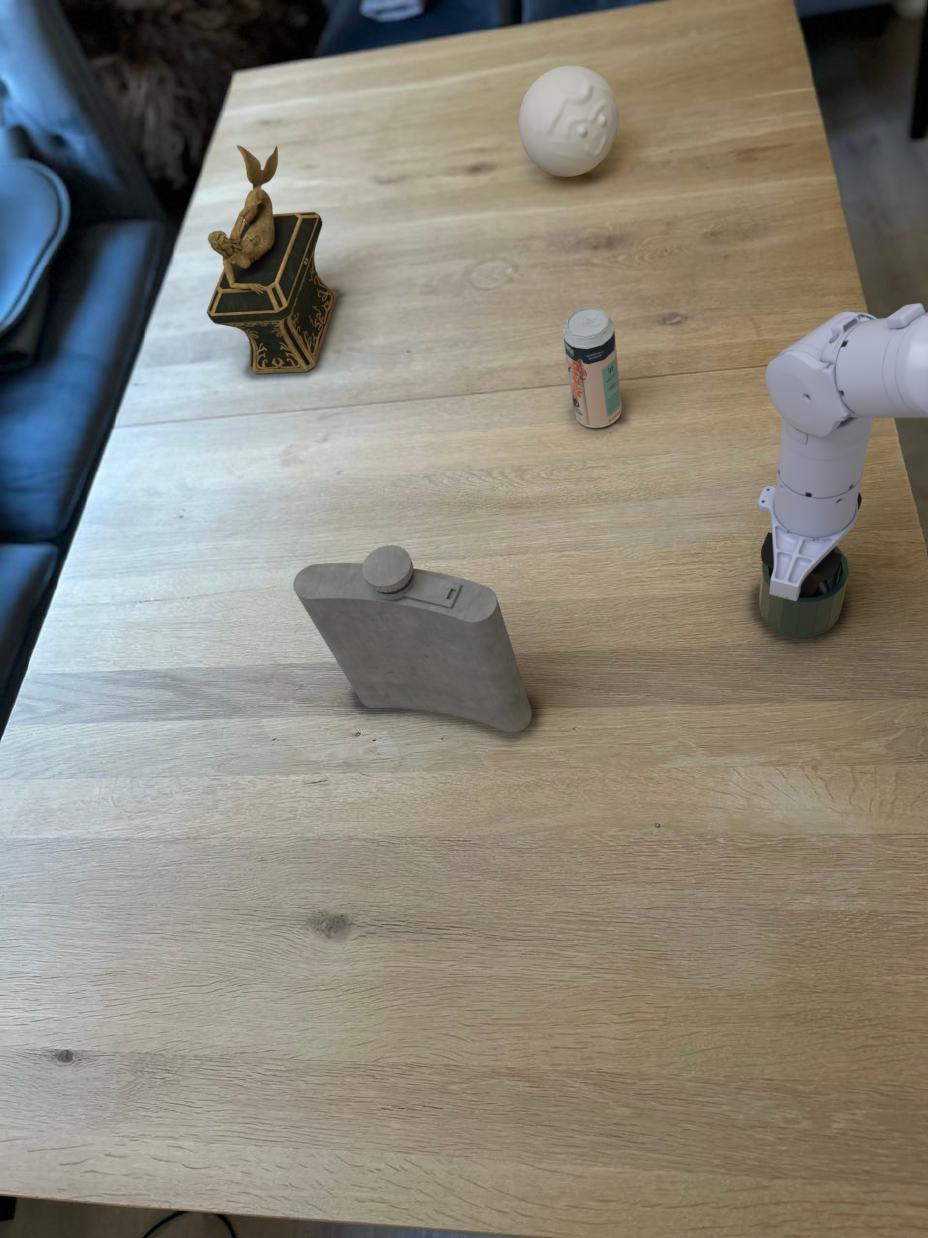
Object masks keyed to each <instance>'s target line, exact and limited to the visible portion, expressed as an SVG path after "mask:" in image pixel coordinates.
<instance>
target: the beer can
mask: <svg viewBox="0 0 928 1238" xmlns="http://www.w3.org/2000/svg"><path fill="white" fill-rule="evenodd" d="M562 337H563V344H564V351H565V358H566V364H567V365H566V366H567V371H568V378H569V385H570V391H571V397H572V402H573V403H572V404H573V410H574V412H573V413H574V417H575V419H576V421H578V423H580V424H581V425H582V426H584V427H587V428H592V429H600V428H604V427H607V426H610V425H612V424H613V423H615V422H616V421H617V420H618V419H619V418H620V416H621V414H622V412H623V407H622V406H623V405H622V397H621V385H620V375H619V364H618V353H617V343H616V342H617V341H616V331H615V323H614V321H613V320H612V319H611V317H610V316H609V315H608V314H607V313H606V312H605V311H604V310H603V309H602V308H598V307H592V306H591V307H590V306H587V307H584V308H581V309H577V310H575V311H574V312H573V313H572V314H570V315H569V316H568V317H567V320H566V322H565V324H564V326H563V329H562Z"/></svg>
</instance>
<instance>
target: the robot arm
mask: <svg viewBox="0 0 928 1238" xmlns="http://www.w3.org/2000/svg"><path fill="white" fill-rule="evenodd" d="M766 366H767V367H766V369H765V375H764V376H765V386H766V390H767V392H768V395H769V398H770V401H771V402H772V404H773V406H774V408H775V409H776V410H777V412H778V413H779V414H780V415H781V420H780V421H781V422H780V423H781V424H780V433H779V435H780V436H779V446H778V456H777V457H778V458H777V468H776V479H775V486H773V485H767V486H764V487H763V488H762V490H761V492H760V495H759V497H758V499H757V509H758V510H759V511H760V512H762V513H763V512H764V513H767V514H769V516H770V523H771V525H770V526H771V532H769V531H768V532H767V534H766V536H765V538H764V540H763V543H762V546H761V550H760V559H761V562H762V563H764V564H766V565H767V566H768V567H770V568H771V569H772V570H773V574H772V577H771V581H770V592H769V594H771V595H775V596H778V597H781V598H785V599H790V600H793V601H797V599H798V597H800V598H808V597H813V595H814V593H815V592H816V590H817V588H818V586H819V584H820V583H821V582H823V581H825V580H828V579H831V577H832V576H833V575H834V574H835V572H836V570H837V568H838V565H839V563H840V560H841V557H842V554H839V553H834V552H830V551H831V550H832V549H833V548H834V547H835V546H836V547H837V545H838V544H840V542H842V540H843V539H844V538H845V537H846V536H848V534H849V533H850V532H851V530H853V528H854V527H855V524H856V522H857V518H858V513H859V510H860V508H861V505H862V500H863V498H862V497H863V496H862V495H861V492H860V488H861V483H862V478H863V473H864V467H865V461H866V456H867V452H868V448H869V447H868V446H869V443H870V442H869V440H870V437H871V433H872V427H873V423H874V419H928V312H926V310H925V308H924V306H923V303H920V302H919V303H911V304H905V305H903V306H902V307H901V308H899V309H897V310H896V311H895V312H893V313H892V314H890V315H889V316H888V317H881V318H878V317H875V316H874V315H872V314H869V313H867V312H861V311H860V312H859V311H858V312H854V311H842V312H839V313H837V314H835V315H833V316H832V317H830V318H829V319H828V320H826V321H825V322H823V323H821V324H820V325H819V326H818V327H816V328H815V329H813V330H812V331H810V332H809V333H807V334H806V335H804V336H803V337H801V338H799V339H798V340H797V341H795V342H794V343H793V344H791V345H790V346H788V347H787V348H785V349H784V350H782V351H780V353H779V354H778V355H777V356H776V357H775V358H773V359H771V361H769V363H768V364H767V365H766Z"/></svg>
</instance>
